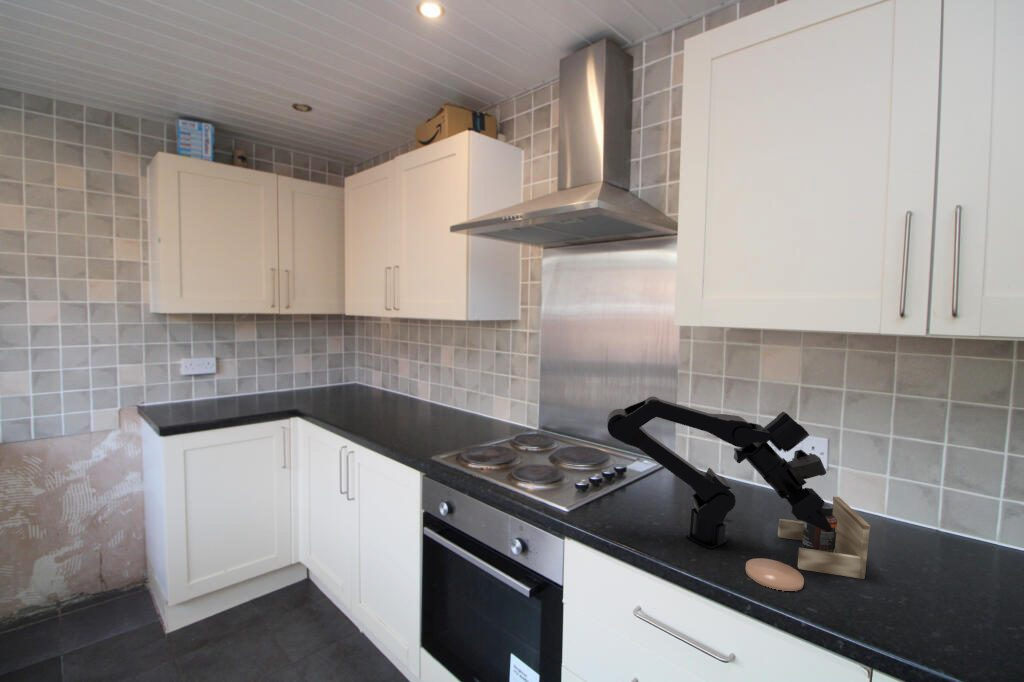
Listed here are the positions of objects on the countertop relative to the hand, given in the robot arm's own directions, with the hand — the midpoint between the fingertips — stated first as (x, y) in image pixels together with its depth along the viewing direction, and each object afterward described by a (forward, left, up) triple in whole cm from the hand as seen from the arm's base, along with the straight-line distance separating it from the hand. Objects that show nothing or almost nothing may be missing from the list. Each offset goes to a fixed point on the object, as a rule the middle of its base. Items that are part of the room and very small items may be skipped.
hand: (822, 521), depth 103 cm
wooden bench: (0, 0, -8) cm, 8 cm away
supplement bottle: (0, 0, -8) cm, 8 cm away
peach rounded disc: (-1, -17, -8) cm, 19 cm away
